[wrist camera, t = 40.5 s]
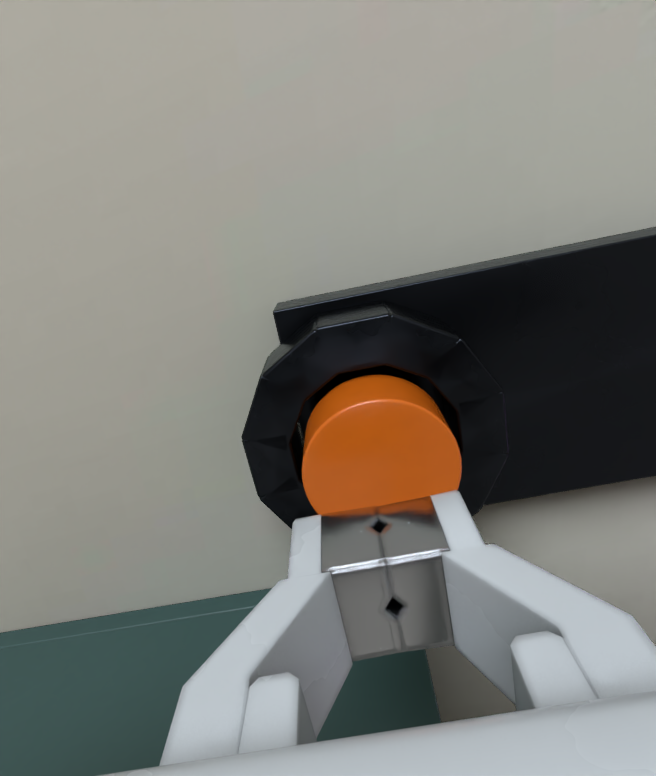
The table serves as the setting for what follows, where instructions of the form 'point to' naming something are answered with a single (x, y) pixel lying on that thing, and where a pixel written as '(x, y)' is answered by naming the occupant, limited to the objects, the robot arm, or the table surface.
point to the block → (483, 369)
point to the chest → (158, 687)
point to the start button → (377, 446)
